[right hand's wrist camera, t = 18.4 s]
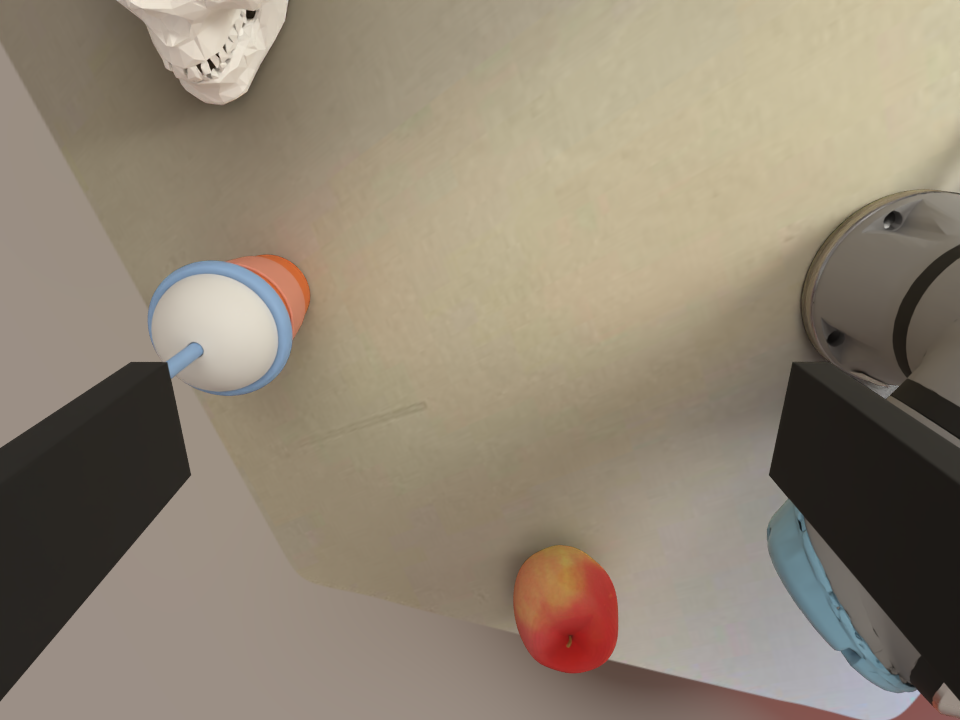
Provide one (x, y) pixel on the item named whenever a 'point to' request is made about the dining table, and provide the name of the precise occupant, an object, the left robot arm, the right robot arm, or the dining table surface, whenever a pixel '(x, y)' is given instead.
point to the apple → (566, 609)
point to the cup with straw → (228, 321)
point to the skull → (211, 41)
